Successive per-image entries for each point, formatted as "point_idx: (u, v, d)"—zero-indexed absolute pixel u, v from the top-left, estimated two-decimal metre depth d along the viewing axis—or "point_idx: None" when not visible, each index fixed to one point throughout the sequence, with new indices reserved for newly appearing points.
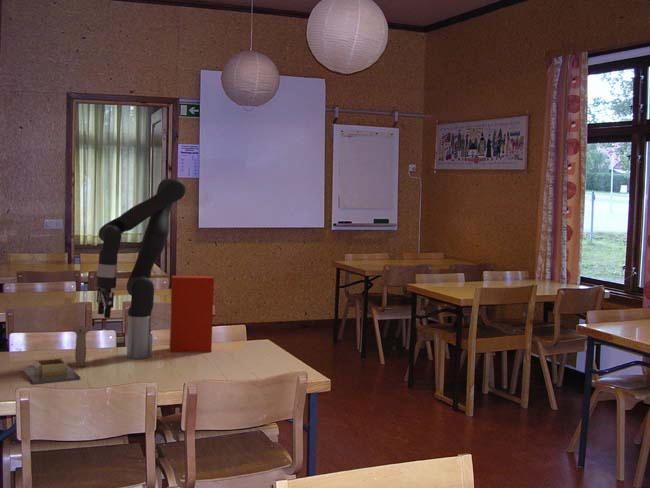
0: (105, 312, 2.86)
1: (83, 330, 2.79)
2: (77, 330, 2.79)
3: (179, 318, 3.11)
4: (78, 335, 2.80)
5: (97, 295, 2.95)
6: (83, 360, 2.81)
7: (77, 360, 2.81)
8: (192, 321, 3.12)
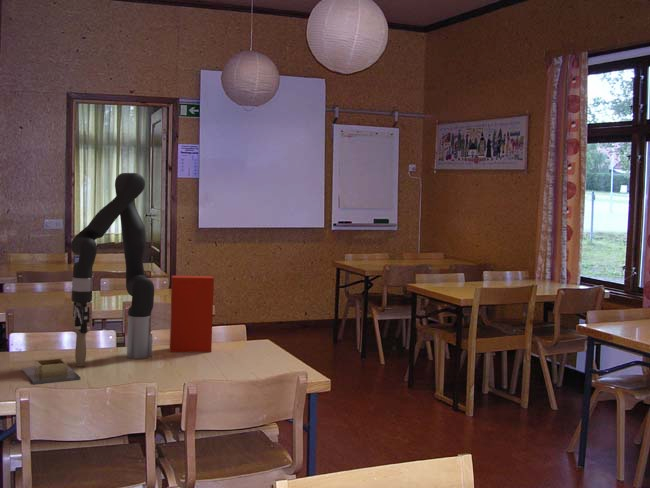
0: (81, 327, 2.77)
1: None
2: (77, 330, 2.79)
3: (179, 318, 3.11)
4: (78, 335, 2.80)
5: (73, 309, 2.85)
6: (83, 360, 2.81)
7: (77, 360, 2.81)
8: (192, 321, 3.12)
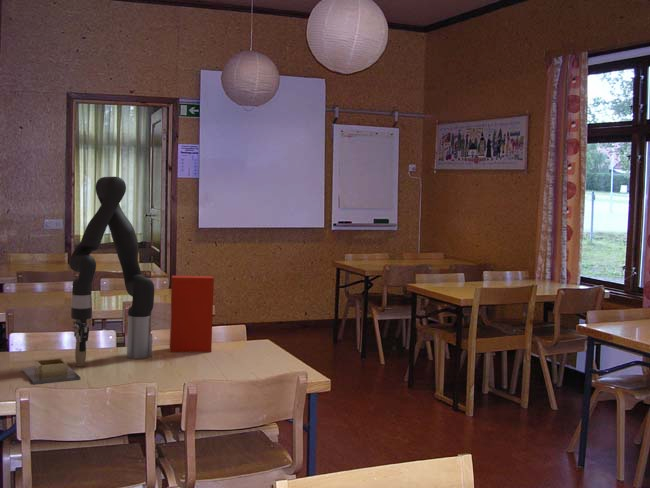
0: (80, 346, 2.79)
1: None
2: (77, 330, 2.79)
3: (179, 318, 3.11)
4: None
5: None
6: (83, 360, 2.81)
7: (77, 360, 2.81)
8: (192, 321, 3.12)
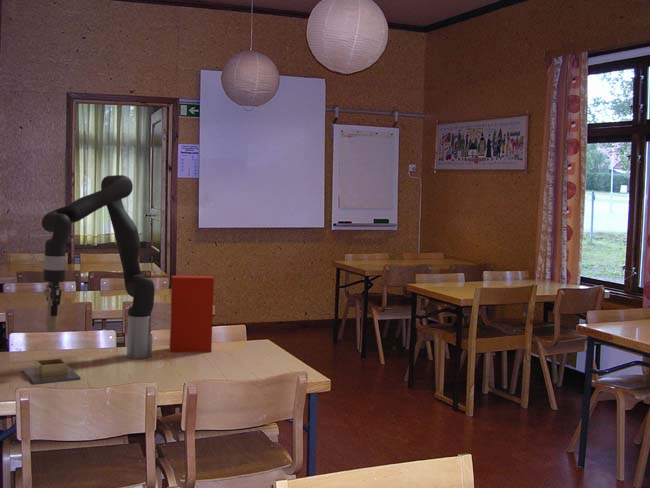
0: (51, 310, 2.64)
1: None
2: (49, 293, 2.64)
3: (179, 318, 3.11)
4: None
5: None
6: (55, 325, 2.66)
7: (48, 325, 2.66)
8: (192, 321, 3.12)
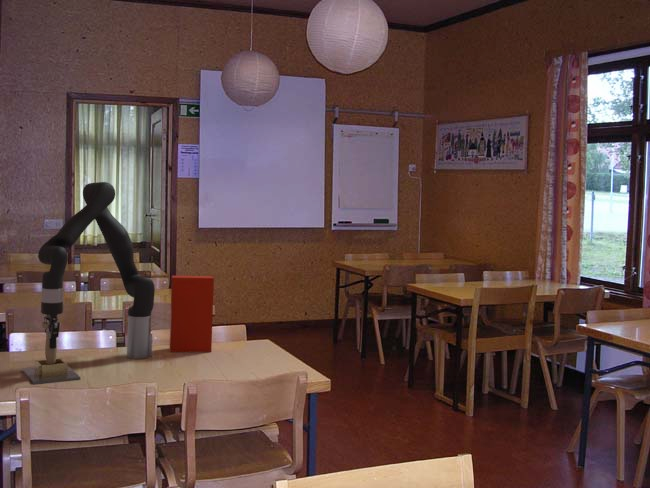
0: (50, 342, 2.64)
1: None
2: (47, 326, 2.64)
3: (179, 318, 3.11)
4: None
5: None
6: (53, 357, 2.66)
7: (47, 357, 2.66)
8: (192, 321, 3.12)
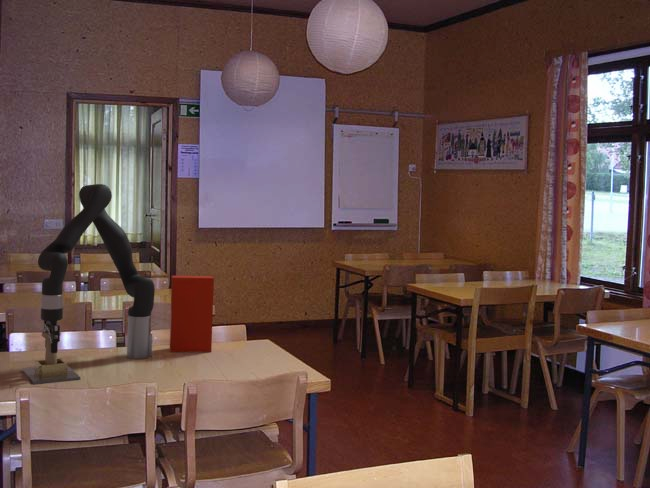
0: (51, 347, 2.63)
1: None
2: (47, 335, 2.64)
3: (179, 318, 3.11)
4: (48, 340, 2.65)
5: (44, 327, 2.71)
6: None
7: None
8: (192, 321, 3.12)
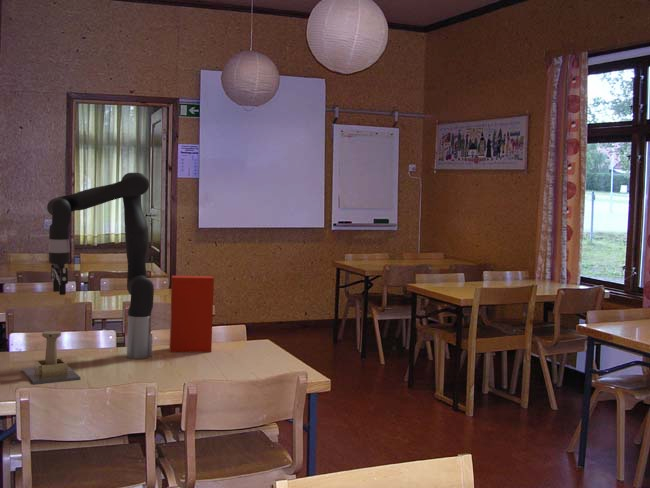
0: (60, 289, 2.75)
1: (54, 335, 2.65)
2: (47, 335, 2.64)
3: (179, 318, 3.11)
4: (48, 340, 2.65)
5: (51, 272, 2.84)
6: None
7: None
8: (192, 321, 3.12)
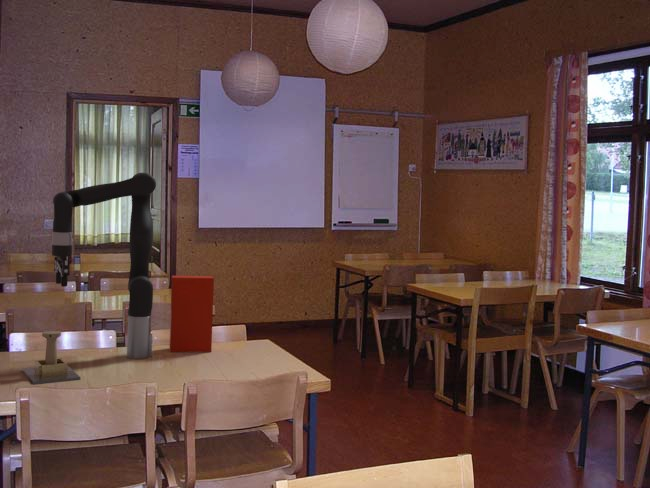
0: (62, 281, 2.82)
1: (54, 335, 2.65)
2: (47, 335, 2.64)
3: (179, 318, 3.11)
4: (48, 340, 2.65)
5: (54, 264, 2.91)
6: None
7: None
8: (192, 321, 3.12)
